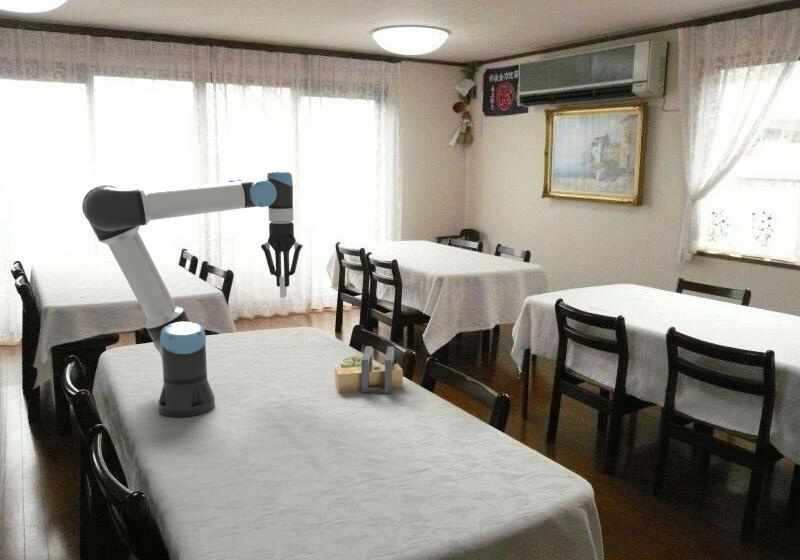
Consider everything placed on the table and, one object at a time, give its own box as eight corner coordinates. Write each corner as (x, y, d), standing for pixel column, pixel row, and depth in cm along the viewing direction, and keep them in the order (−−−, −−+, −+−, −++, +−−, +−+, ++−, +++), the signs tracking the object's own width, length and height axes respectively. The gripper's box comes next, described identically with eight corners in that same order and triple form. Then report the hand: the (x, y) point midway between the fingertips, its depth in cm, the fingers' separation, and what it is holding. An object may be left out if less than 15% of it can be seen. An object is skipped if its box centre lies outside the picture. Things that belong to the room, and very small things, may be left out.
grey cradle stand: (391, 394, 195) (391, 360, 193) (361, 393, 196) (361, 359, 194) (393, 378, 209) (394, 346, 208) (366, 377, 210) (365, 346, 208)
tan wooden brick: (338, 393, 196) (338, 373, 195) (335, 386, 202) (335, 367, 201) (402, 388, 201) (402, 369, 200) (398, 382, 207) (398, 363, 206)
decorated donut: (334, 368, 220) (334, 357, 219) (361, 362, 226) (360, 352, 226) (351, 376, 212) (351, 365, 211) (378, 370, 218) (378, 359, 217)
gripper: (304, 221, 205) (306, 294, 209) (263, 220, 206) (265, 294, 210) (299, 223, 198) (301, 299, 202) (257, 222, 198) (260, 298, 202)
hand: (283, 296), depth 206 cm, fingers closed
